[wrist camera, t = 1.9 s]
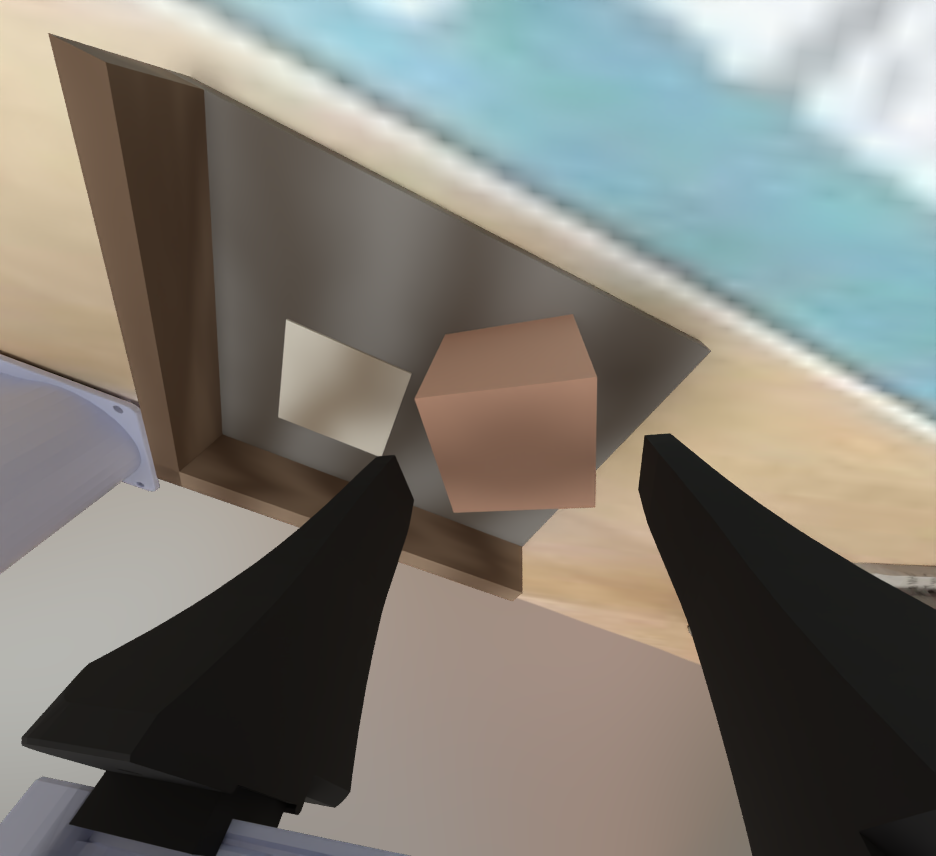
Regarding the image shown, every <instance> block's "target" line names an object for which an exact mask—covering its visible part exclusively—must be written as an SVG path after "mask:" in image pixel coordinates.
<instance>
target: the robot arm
mask: <svg viewBox="0 0 936 856" xmlns="http://www.w3.org/2000/svg"><path fill="white" fill-rule="evenodd" d="M120 482H124V483H127V484H130V485H133V486H136V487H139V488H142V489H145V490H148V491H156V490H157V489H158V488H159V487H160V485H159V481H158V478H157V476H156V471H155V467H154V463H153V459H152V455H151V451H150V447H149V443H148V439H147V435H146V431H145V426H144V422H143V418H142V414H141V410H140V408H139V407H138V406H136V405H135V404H133V403H130V402H127V401H125V400H122V399H119V398H117V397H114V396H111V395H109V394H106V393H103V392H101V391H98V390H95V389H93V388H90V387H87V386H85V385H82V384H79V383H77V382H74V381H71V380H69V379H66V378H63V377H61V376H58V375H55V374H53V373H50V372H47V371H45V370H42V369H39V368H37V367H34V366H31V365H28V364H26V363H23V362H20V361H18V360H15V359H12V358H10V357H7V356H4V355H2V354H0V574H1V573H2V572H4V571H5V570H6V569H8V568H9V567H10V566H12V565H13V564H14V563H15V562H17V561H18V560H19V559H21V558H22V557H23V556H25V555H26V554H27V553H28V552H30V551H31V550H33V549H34V548H35V547H37V546H38V545H39V544H40V543H41V542H43V541H44V540H46V539H47V538H48V537H50V536H51V535H52V534H54V533H55V532H56V531H58V530H59V529H60V528H61V527H63V526H64V525H65V524H66V523H68V522H69V521H70V520H72V519H73V518H74V517H76V516H77V515H79V514H80V513H81V512H82V511H84V510H85V509H86V508H88V507H89V506H90V505H92V504H93V503H94V502H96V501H97V500H98V499H100V498H101V497H102V496H103V495H105V494H106V493H107V492H109V491H110V490H111V489H113V488H114V487H115V486H116V485H118V484H119V483H120ZM638 490H639V494H640V498H641V501H642V505H643V509H644V512H645V516H646V520H647V523H648V526H649V528H650V531H651V533H652V536H653V538H654V540H655V543H656V545H657V548H658V550H659V553H660V555H661V557H662V560H663V562H664V565H665V567H666V569H667V572H668V574H669V576H670V579H671V581H672V584H673V586H674V588H675V591H676V593H677V596H678V598H679V600H680V603H681V605H682V608H683V611H684V613H685V616H686V619H687V621H688V624H689V627H690V630H691V634H692V637H693V640H694V643H695V647H696V650H697V653H698V656H699V660H700V663H701V666H702V669H703V673H704V676H705V679H706V683H707V686H708V690H709V693H710V697H711V700H712V703H713V707H714V710H715V713H716V717H717V721H718V724H719V728H720V731H721V735H722V739H723V743H724V746H725V750H726V753H727V757H728V761H729V765H730V768H731V772H732V775H733V780H734V784H735V788H736V792H737V796H738V799H739V803H740V807H741V811H742V815H743V819H744V823H745V826H746V831H747V835H748V839H749V843H750V847H751V851H752V856H936V609H934V608H932V607H931V606H929V605H927V604H925V603H923V602H921V601H920V600H918V599H916V598H914V597H912V596H910V595H909V594H907V593H905V592H903V591H901V590H899V589H898V588H896V587H894V586H892V585H890V584H888V583H887V582H885V581H883V580H881V579H879V578H878V577H876V576H874V575H872V574H871V573H869V572H867V571H865V570H864V569H862V568H860V567H858V566H857V565H855V564H853V563H851V562H850V561H848V560H847V559H845V558H843V557H842V556H840V555H838V554H837V553H835V552H833V551H832V550H830V549H829V548H827V547H825V546H824V545H822V544H820V543H819V542H817V541H815V540H814V539H812V538H810V537H809V536H807V535H806V534H804V533H803V532H801V531H800V530H798V529H796V528H795V527H793V526H792V525H790V524H789V523H787V522H786V521H785V520H783V519H782V518H780V517H779V516H777V515H776V514H774V513H773V512H771V511H770V510H768V509H767V508H766V507H764V506H763V505H761V504H760V503H758V502H757V501H756V500H754V499H753V498H751V497H750V496H749V495H747V494H746V493H745V492H743V491H742V490H741V489H739V488H738V487H737V486H735V485H734V484H733V483H731V482H730V481H729V480H727V479H726V478H725V477H723V476H722V475H721V474H720V473H718V472H717V471H716V470H715V469H713V468H712V467H711V466H710V465H708V464H707V463H706V462H705V461H703V460H702V459H701V458H700V457H698V456H697V455H696V454H695V453H694V452H692V451H691V450H690V449H689V448H687V447H686V446H685V445H684V444H683V443H681V442H680V441H679V440H678V439H676V438H675V437H674V436H673V435H671V434H657V435H645V437H644V446H643V454H642V463H641V471H640V480H639V488H638ZM413 503H414V498H413V496H412V493H411V491H410V489H409V486H408V484H407V482H406V479H405V477H404V475H403V472H402V470H401V468H400V465H399V463H398V461H397V459H396V456H395V455H387V456H377V457H376V458H375V459H374V460H372V461H371V462H370V463H369V464H368V465H367V466H366V467H365V468H364V469H363V470H362V471H360V472H359V473H358V474H357V475H356V476H355V477H354V478H353V479H352V480H351V481H350V482H349V483H348V484H347V485H346V486H345V487H344V488H343V489H342V490H341V491H340V492H339V493H338V494H336V495H335V496H334V497H333V498H332V499H331V500H330V501H329V502H328V503H327V504H326V505H325V506H324V507H323V508H322V509H320V510H319V511H318V512H317V513H316V514H315V515H314V516H312V517H311V518H310V519H309V520H308V521H307V522H306V523H305V524H303V525H302V526H301V527H300V528H299V529H298V530H297V531H296V532H294V533H293V534H292V535H291V536H290V537H288V538H287V539H286V540H285V541H283V542H282V543H281V544H280V545H278V546H277V547H276V548H275V549H273V550H272V551H271V552H269V553H268V554H267V555H266V556H264V557H263V558H261V559H260V560H259V561H258V562H256V563H255V564H253V565H252V566H251V567H249V568H248V569H246V570H245V571H243V572H242V573H241V574H239V575H237V576H236V577H235V578H233V579H232V580H230V581H229V582H227V583H226V584H224V585H223V586H222V587H220V588H219V589H217V590H216V591H214V592H213V593H211V594H210V595H208V596H206V597H205V598H203V599H202V600H200V601H198V602H197V603H195V604H194V605H193V606H191V607H189V608H187V609H186V610H184V611H182V612H181V613H179V614H177V615H176V616H174V617H172V618H171V619H169V620H167V621H166V622H164V623H162V624H160V625H159V626H157V627H155V628H154V629H152V630H150V631H148V632H146V633H145V634H143V635H141V636H139V637H137V638H135V639H134V640H132V641H130V642H128V643H126V644H125V645H123V646H121V647H119V648H117V649H115V650H114V651H112V652H110V653H108V654H106V655H104V656H103V657H101V658H99V659H97V660H95V661H93V662H91V663H89V664H88V665H87V666H86V667H85V668H84V669H83V670H82V671H81V672H80V673H79V674H78V675H77V676H76V677H75V678H74V679H73V681H72V682H71V683H70V684H69V685H68V686H67V687H66V689H65V690H64V691H63V692H62V693H61V694H60V695H59V696H58V697H57V699H56V700H55V701H54V702H53V703H52V704H51V705H50V707H48V709H47V710H46V711H45V712H44V713H43V714H42V715H41V716H40V717H39V719H38V720H37V721H36V722H35V723H34V724H33V725H32V726H31V728H30V729H29V730H28V731H27V732H26V733H25V734H24V735H23V736H22V746H25V747H28V748H30V749H33V750H36V751H39V752H43V753H46V754H49V755H53V756H56V757H60V758H63V759H67V760H71V761H74V762H78V763H81V764H85V765H88V766H92V767H96V768H100V769H103V770H106V772H105V773H104V775H103V776H102V778H101V779H100V781H99V782H98V783H97V785H96V786H95V787H91V786H86V785H82V784H77V783H72V782H67V781H63V780H57V779H53V778H48V777H41V778H39V779H37V780H36V781H35V782H34V783H33V784H32V785H31V786H30V788H29V789H28V790H27V792H26V793H25V794H24V795H23V796H22V798H21V799H20V800H19V801H18V803H17V804H16V805H15V806H14V808H13V809H12V810H11V811H10V812H9V814H8V815H7V816H6V817H5V819H4V820H3V821H2V822H1V824H0V856H409V855H404V854H399V853H394V852H389V851H384V850H380V849H375V848H370V847H365V846H361V845H356V844H351V843H346V842H342V841H336V840H332V839H327V838H322V837H317V836H313V835H308V834H303V833H298V832H293V831H289V830H284V829H279V828H277V827H278V824H279V822H280V819H281V816H282V814H283V812H286V813H291V814H296V815H298V814H299V813H300V812H301V810H302V807H303V804H304V802H307V803H312V804H319V805H323V806H329V807H334V808H335V807H336V806H338V805H339V804H340V803H341V802H342V801H343V800H344V799H345V798H346V797H347V796H348V794H349V793H350V790H351V781H352V773H353V766H354V759H355V752H356V745H357V738H358V731H359V725H360V719H361V713H362V708H363V702H364V696H365V690H366V684H367V680H368V674H369V670H370V665H371V660H372V655H373V650H374V645H375V641H376V636H377V632H378V627H379V623H380V619H381V614H382V611H383V607H384V604H385V600H386V597H387V594H388V591H389V588H390V585H391V582H392V578H393V576H394V573H395V570H396V567H397V564H398V561H399V558H400V555H401V552H402V549H403V546H404V542H405V539H406V536H407V533H408V530H409V525H410V520H411V515H412V509H413Z"/></svg>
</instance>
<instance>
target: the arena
mask: <svg viewBox="0 0 936 856" xmlns="http://www.w3.org/2000/svg"><path fill="white" fill-rule="evenodd" d="M49 37H50V42H51V46H52V50H53V54H54V58H55V62H56V66H57V70H58V74H59V78H60V83H61V87H62V91H63V95H64V99H65V103H66V107H67V111H68V115H69V119H70V123H71V128H72V132H73V136H74V140H75V144H76V148H77V152H78V156H79V160H80V164H81V168H82V173H83V177H84V181H85V185H86V189H87V193H88V197H89V201H90V205H91V209H92V214H93V218H94V222H95V226H96V230H97V234H98V238H99V242H100V246H101V250H102V254H103V259H104V263H105V267H106V271H107V275H108V279H109V283H110V287H111V291H112V295H113V300H114V304H115V308H116V312H117V316H118V320H119V324H120V328H121V332H122V336H123V340H124V345H125V349H126V353H127V357H128V361H129V365H130V369H131V373H132V377H133V381H134V386H135V390H136V394H137V398H138V402H139V406H140V410H141V414H142V418H143V422H144V426H145V431H146V435H147V439H148V443H149V447H150V451H151V455H152V459H153V463H154V467H155V471H156V476H157V478H158V479H161V480H164V481H167V482H170V483H173V484H175V485H178V486H181V487H185V488H187V489H190V490H193V491H196V492H198V493H202V494H204V495H207V496H210V497H213V498H216V499H219V500H222V501H224V502H227V503H230V504H233V505H236V506H239V507H242V508H245V509H248V510H251V511H253V512H256V513H259V514H262V515H265V516H268V517H271V518H273V519H276V520H279V521H282V522H285V523H288V524H291V525H294V526H297V527H299V528H300V527H301V526H302V525H303V524H305V523H306V522H307V521H308V520H309V519H310V518H311V517H312V516H314V515H315V514H316V513H317V512H318V511H319V510H320V509H322V508H323V507H324V506H325V505H326V504H327V503H328V502H329V501H330V500H331V499H332V498H333V497H334V496H335V495H336V494H338V493H339V492H340V491H341V490H342V489H343V488H344V487H345V486H346V485H347V484H348V483H349V482H350V481H351V480H352V479H353V478H354V477H355V476H356V475H357V474H358V473H359V472H360V471H362V470H363V469H364V468H365V467H366V466H367V465H368V464H369V463H370V462H371V461H372V460H374V459H375V458H376V457H377V456H387V455H395V456H396V459H397V461H398V463H399V465H400V468H401V470H402V472H403V475H404V477H405V479H406V482H407V484H408V486H409V489H410V491H411V493H412V496H413V498H414V503H413V509H412V515H411V520H410V525H409V530H408V533H407V536H406V539H405V542H404V546H403V549H402V552H401V555H400V558H399V561H398V562H400V563H403V564H406V565H409V566H412V567H415V568H418V569H421V570H423V571H426V572H429V573H432V574H435V575H438V576H441V577H444V578H446V579H449V580H452V581H455V582H458V583H461V584H464V585H467V586H469V587H472V588H475V589H478V590H481V591H484V592H487V593H490V594H493V595H495V596H498V597H501V598H504V599H507V600H510V601H514V600H515V599H516V598H517V597H518V596H519V595H520V594H522V546H523V545H524V544H525V543H526V542H527V541H528V540H529V539H530V538H531V537H532V536H533V535H534V534H535V533H536V532H537V531H538V530H539V529H540V528H541V527H542V526H543V525H544V524H545V523H546V521H547V520H548V519H549V518H550V517H551V516H552V515H553V514H554V513H555V512H556V511H557V510H558V509H539V510H513V511H487V512H461V513H454V512H453V509H452V506H451V503H450V500H449V498H448V495H447V492H446V489H445V486H444V483H443V480H442V477H441V474H440V471H439V468H438V466H437V463H436V460H435V457H434V454H433V451H432V448H431V445H430V442H429V439H428V437H427V434H426V431H425V428H424V425H423V422H422V419H421V416H420V413H419V410H418V408H417V405H416V402H415V396H416V394H417V392H418V390H419V388H420V386H421V384H422V382H423V380H424V378H425V376H426V374H427V371H428V369H429V367H430V365H431V363H432V361H433V359H434V357H435V355H436V353H437V351H438V349H439V346H440V344H441V342H442V340H443V338H444V336H445V335H446V334H452V333H458V332H464V331H471V330H477V329H483V328H489V327H496V326H502V325H508V324H514V323H521V322H527V321H533V320H539V319H546V318H552V317H558V316H564V315H571V314H573V316H574V318H575V321H576V324H577V326H578V329H579V331H580V334H581V336H582V339H583V342H584V344H585V347H586V349H587V352H588V355H589V357H590V360H591V362H592V365H593V367H594V370H595V373H596V375H597V423H596V470H597V469H598V468H599V467H600V466H601V465H602V464H603V463H604V462H605V460H606V459H607V458H608V457H609V456H610V455H611V454H612V453H613V452H614V451H615V450H616V449H617V448H618V447H619V446H620V445H621V444H622V443H623V442H624V441H625V440H626V439H627V438H628V437H629V436H630V435H631V434H632V433H633V432H634V430H635V429H636V428H637V427H638V426H639V425H640V424H641V423H642V422H643V421H644V420H645V419H646V418H647V417H648V416H649V415H650V414H651V413H652V412H653V411H654V410H655V409H656V408H657V407H658V406H659V405H660V404H661V403H662V402H663V400H664V399H665V398H666V397H667V396H668V395H669V394H670V393H671V392H672V391H673V390H674V389H675V388H676V387H677V386H678V385H679V384H680V383H681V382H682V381H683V380H684V379H685V378H686V377H687V376H688V375H689V374H690V373H691V372H692V370H693V369H694V368H695V367H696V366H697V365H698V364H699V363H700V362H701V361H702V360H703V359H704V358H705V357H706V356H707V355H708V354H709V353H710V352H711V350H709V349H708V348H707V347H706V346H705V345H704V344H703V343H702V342H701V341H699V340H697V339H695V338H693V337H691V336H689V335H688V334H686V333H684V332H682V331H680V330H678V329H676V328H674V327H672V326H670V325H668V324H666V323H664V322H662V321H660V320H659V319H657V318H655V317H653V316H651V315H649V314H647V313H645V312H643V311H641V310H639V309H637V308H635V307H633V306H632V305H630V304H628V303H626V302H624V301H622V300H620V299H618V298H616V297H614V296H612V295H610V294H608V293H606V292H604V291H603V290H601V289H599V288H597V287H595V286H593V285H591V284H589V283H587V282H585V281H583V280H581V279H579V278H577V277H575V276H574V275H572V274H570V273H568V272H566V271H564V270H562V269H560V268H558V267H556V266H554V265H552V264H550V263H548V262H547V261H545V260H543V259H541V258H539V257H537V256H535V255H533V254H531V253H529V252H527V251H525V250H523V249H521V248H519V247H518V246H516V245H514V244H512V243H510V242H508V241H506V240H504V239H502V238H500V237H498V236H496V235H494V234H492V233H491V232H489V231H487V230H485V229H483V228H481V227H479V226H477V225H475V224H473V223H471V222H469V221H467V220H465V219H463V218H462V217H460V216H458V215H456V214H454V213H452V212H450V211H448V210H446V209H444V208H442V207H440V206H438V205H436V204H434V203H433V202H431V201H429V200H427V199H425V198H423V197H421V196H419V195H417V194H415V193H413V192H411V191H409V190H407V189H406V188H404V187H402V186H400V185H398V184H396V183H394V182H392V181H390V180H388V179H386V178H384V177H382V176H380V175H378V174H377V173H375V172H373V171H371V170H369V169H367V168H365V167H363V166H361V165H359V164H357V163H355V162H353V161H351V160H350V159H348V158H346V157H344V156H342V155H340V154H338V153H336V152H334V151H332V150H330V149H328V148H326V147H324V146H322V145H321V144H319V143H317V142H315V141H313V140H311V139H309V138H307V137H305V136H303V135H301V134H299V133H297V132H295V131H293V130H292V129H290V128H288V127H286V126H284V125H282V124H280V123H278V122H276V121H274V120H272V119H270V118H268V117H266V116H265V115H263V114H261V113H259V112H257V111H255V110H253V109H251V108H249V107H247V106H245V105H243V104H241V103H239V102H237V101H236V100H234V99H232V98H230V97H228V96H226V95H224V94H222V93H220V92H218V91H216V90H214V89H212V88H210V87H209V86H207V85H205V84H203V83H201V82H199V81H197V80H195V79H193V78H191V77H189V76H186V75H183V74H180V73H176V72H173V71H170V70H167V69H163V68H160V67H157V66H154V65H150V64H147V63H144V62H141V61H137V60H134V59H131V58H128V57H124V56H121V55H118V54H115V53H111V52H108V51H105V50H102V49H98V48H95V47H92V46H89V45H85V44H82V43H79V42H76V41H72V40H69V39H66V38H63V37H59V36H56V35H53V34H50V33H49Z"/></svg>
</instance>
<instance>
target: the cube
mask: <svg viewBox="0 0 936 856" xmlns="http://www.w3.org/2000/svg"><path fill="white" fill-rule="evenodd" d="M415 402H416V405H417V408H418V410H419V413H420V416H421V419H422V422H423V425H424V428H425V431H426V434H427V437H428V439H429V442H430V445H431V448H432V451H433V454H434V457H435V460H436V463H437V466H438V468H439V471H440V474H441V477H442V480H443V483H444V486H445V489H446V492H447V495H448V498H449V500H450V503H451V506H452V509H453V512H454V513H461V512H487V511H513V510H539V509H565V508H591V507H595V490H596V423H597V375H596V373H595V370H594V367H593V365H592V362H591V360H590V357H589V355H588V352H587V349H586V347H585V344H584V342H583V339H582V336H581V334H580V331H579V329H578V326H577V324H576V321H575V318H574V316H573V314H571V315H564V316H558V317H552V318H546V319H539V320H533V321H527V322H521V323H514V324H508V325H502V326H496V327H489V328H483V329H477V330H471V331H464V332H458V333H452V334H446V335H445V336H444V338H443V340H442V342H441V344H440V346H439V349H438V351H437V353H436V355H435V357H434V359H433V361H432V363H431V365H430V367H429V369H428V371H427V374H426V376H425V378H424V380H423V382H422V384H421V386H420V388H419V390H418V392H417V394H416V396H415Z"/></svg>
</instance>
